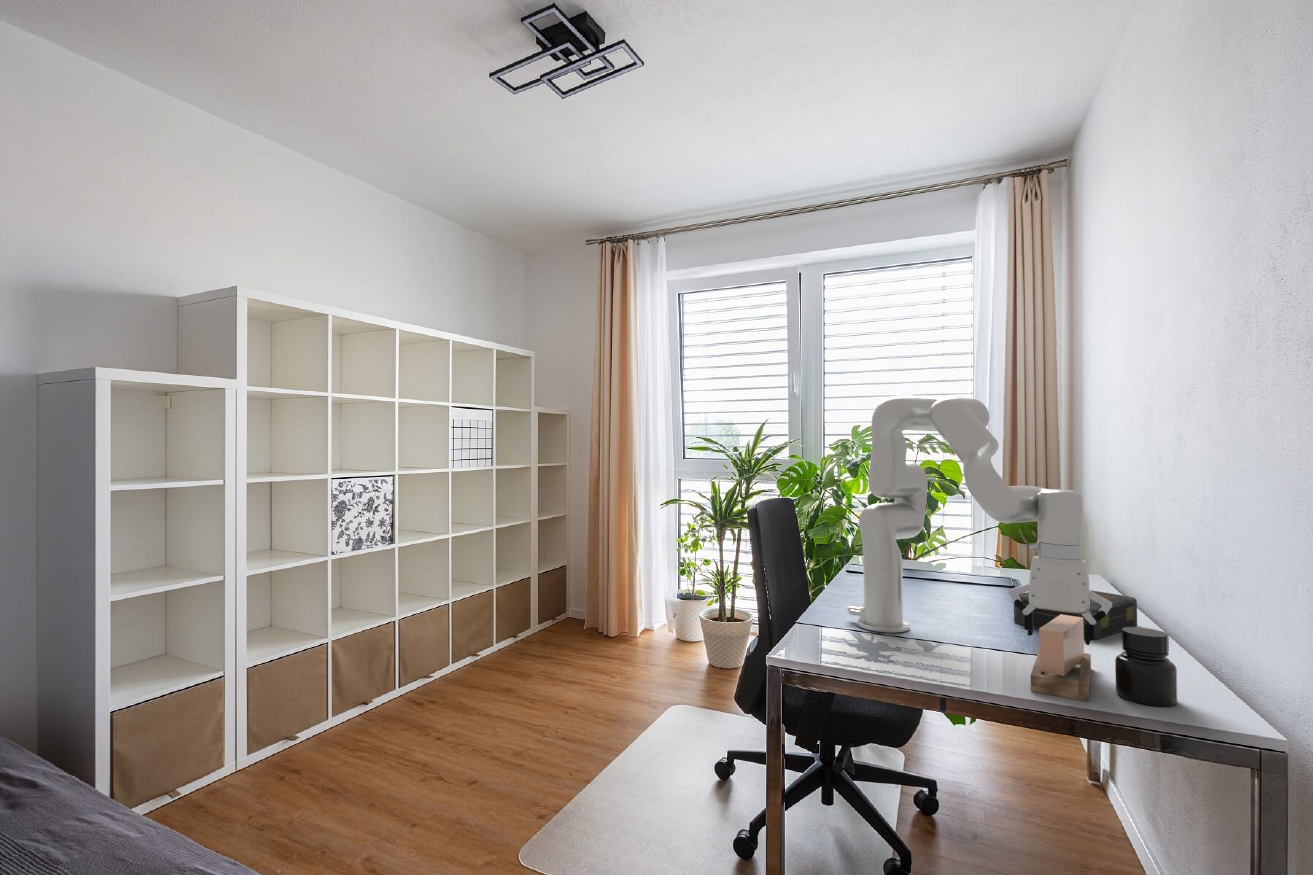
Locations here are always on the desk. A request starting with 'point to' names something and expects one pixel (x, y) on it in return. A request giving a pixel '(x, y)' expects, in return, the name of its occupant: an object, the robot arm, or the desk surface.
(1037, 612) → the cash box
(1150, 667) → the ink bottle
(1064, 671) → the pink rectangular block
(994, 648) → the desk surface
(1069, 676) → the tray
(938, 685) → the desk surface
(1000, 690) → the desk surface
